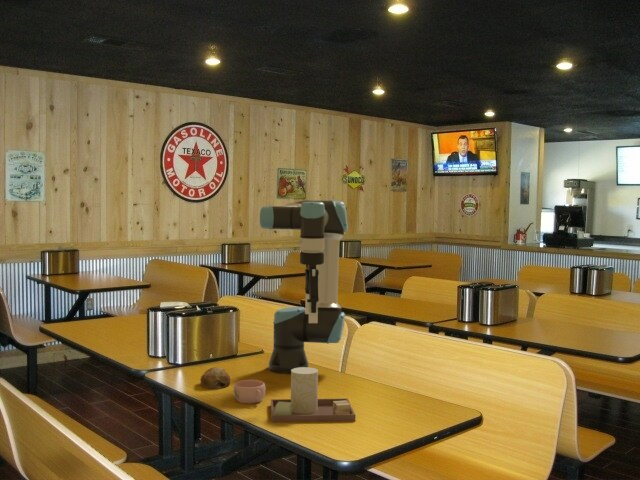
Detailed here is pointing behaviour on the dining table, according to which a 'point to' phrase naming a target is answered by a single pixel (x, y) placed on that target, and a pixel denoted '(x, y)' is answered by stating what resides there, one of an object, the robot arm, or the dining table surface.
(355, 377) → the dining table surface
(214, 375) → the bread roll
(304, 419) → the tray
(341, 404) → the maple block
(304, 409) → the cup
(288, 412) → the sage block
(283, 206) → the robot arm
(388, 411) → the dining table surface
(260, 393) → the mug
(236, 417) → the dining table surface
